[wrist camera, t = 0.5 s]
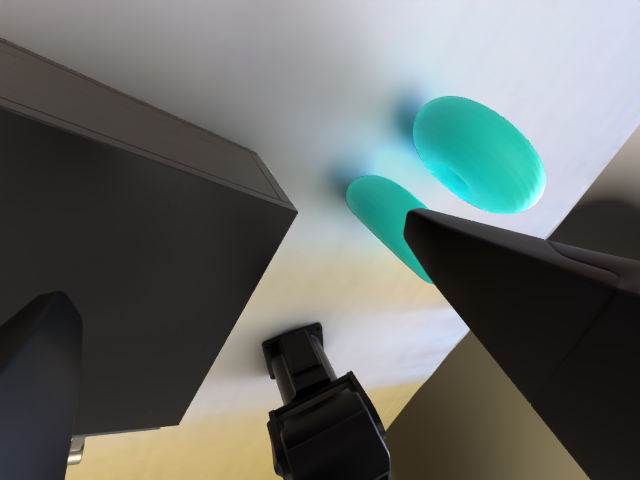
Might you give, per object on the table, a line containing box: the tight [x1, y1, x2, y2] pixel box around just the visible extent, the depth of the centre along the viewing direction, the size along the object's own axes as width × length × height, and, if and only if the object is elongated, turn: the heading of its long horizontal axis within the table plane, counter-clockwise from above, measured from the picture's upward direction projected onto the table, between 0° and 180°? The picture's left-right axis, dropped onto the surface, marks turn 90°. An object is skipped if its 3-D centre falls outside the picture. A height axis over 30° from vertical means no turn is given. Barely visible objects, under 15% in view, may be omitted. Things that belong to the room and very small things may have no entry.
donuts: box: [346, 96, 546, 284], centre depth 23 cm, size 10×10×10 cm
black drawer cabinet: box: [0, 38, 298, 436], centre depth 16 cm, size 16×14×8 cm
